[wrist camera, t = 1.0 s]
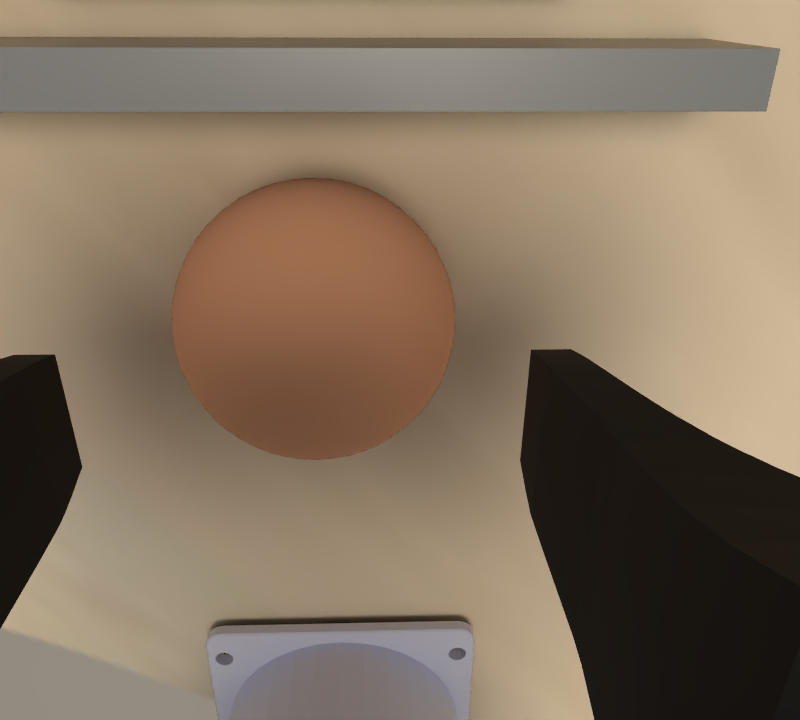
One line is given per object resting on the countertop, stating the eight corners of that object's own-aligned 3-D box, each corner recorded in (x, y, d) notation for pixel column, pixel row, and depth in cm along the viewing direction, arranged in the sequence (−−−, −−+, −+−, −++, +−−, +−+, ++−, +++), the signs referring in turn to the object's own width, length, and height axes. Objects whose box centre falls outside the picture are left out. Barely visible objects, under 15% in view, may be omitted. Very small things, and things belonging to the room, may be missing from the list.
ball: (439, 375, 18) (463, 516, 13) (219, 377, 18) (160, 522, 13) (446, 151, 16) (480, 224, 11) (191, 152, 15) (105, 226, 11)
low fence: (697, 91, 15) (766, 111, 12) (-76, 90, 15) (-176, 111, 12) (706, 39, 15) (779, 48, 12) (-91, 36, 14) (-198, 47, 12)
